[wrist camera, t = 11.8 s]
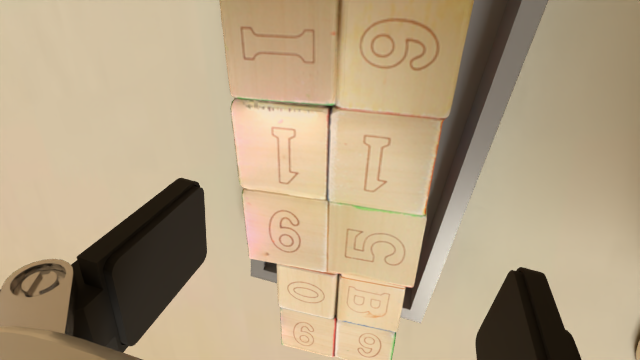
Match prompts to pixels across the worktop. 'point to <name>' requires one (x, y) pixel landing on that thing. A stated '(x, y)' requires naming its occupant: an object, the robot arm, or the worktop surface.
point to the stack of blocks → (340, 154)
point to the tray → (464, 133)
